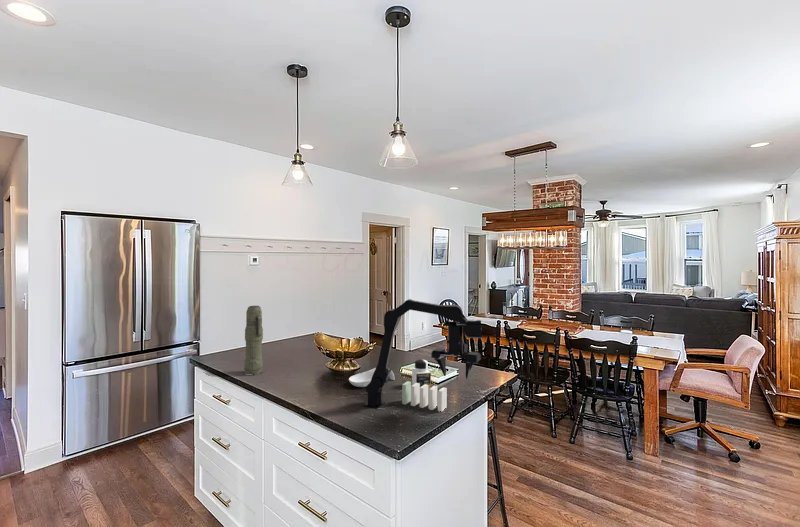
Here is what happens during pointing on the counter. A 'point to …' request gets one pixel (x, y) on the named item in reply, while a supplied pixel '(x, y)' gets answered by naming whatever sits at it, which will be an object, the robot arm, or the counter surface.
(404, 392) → the pale green domino
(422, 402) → the domino
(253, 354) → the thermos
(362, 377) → the spoon rest
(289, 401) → the counter surface
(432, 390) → the domino
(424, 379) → the medicine bottle
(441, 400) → the domino
